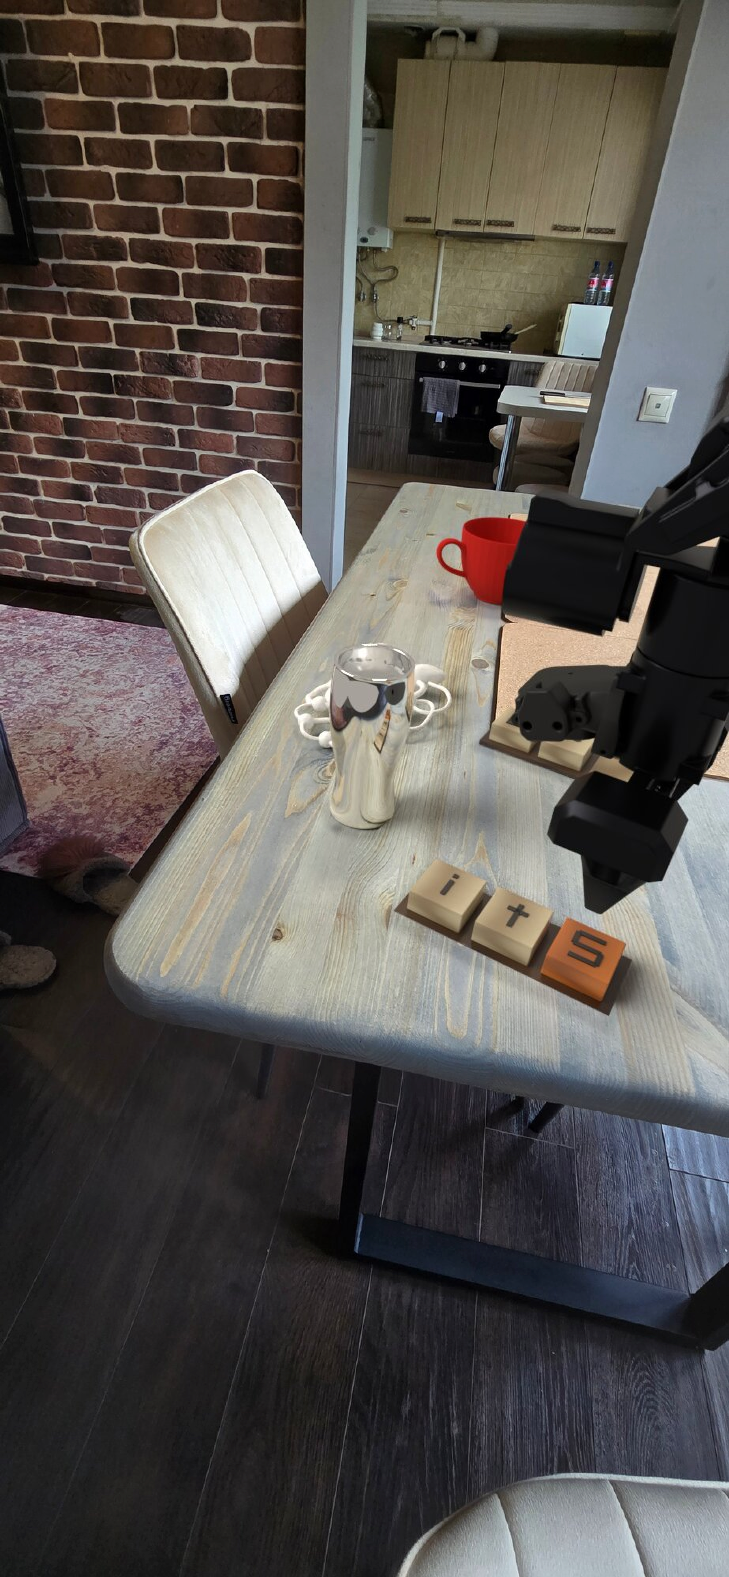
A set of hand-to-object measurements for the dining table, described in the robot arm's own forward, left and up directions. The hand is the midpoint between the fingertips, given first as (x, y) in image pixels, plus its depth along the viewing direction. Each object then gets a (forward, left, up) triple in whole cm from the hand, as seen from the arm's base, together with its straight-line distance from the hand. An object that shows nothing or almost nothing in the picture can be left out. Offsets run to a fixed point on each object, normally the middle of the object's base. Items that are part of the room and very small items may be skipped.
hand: (615, 869), depth 49 cm
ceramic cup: (+36, -62, -10) cm, 73 cm away
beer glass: (+23, -6, -10) cm, 26 cm away
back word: (+10, -26, -10) cm, 30 cm away
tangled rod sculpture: (+31, -22, -10) cm, 39 cm away
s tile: (0, +1, -9) cm, 9 cm away
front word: (+5, +1, -10) cm, 11 cm away
